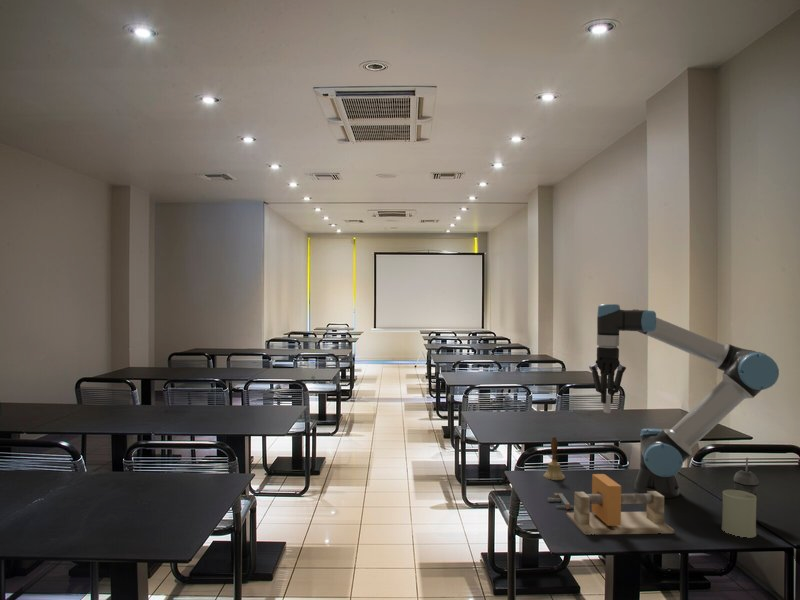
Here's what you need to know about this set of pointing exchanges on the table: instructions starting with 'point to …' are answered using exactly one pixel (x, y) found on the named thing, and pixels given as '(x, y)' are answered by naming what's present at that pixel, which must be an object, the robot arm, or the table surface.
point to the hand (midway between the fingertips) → (606, 412)
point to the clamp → (560, 498)
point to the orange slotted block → (607, 499)
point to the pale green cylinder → (739, 513)
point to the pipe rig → (629, 520)
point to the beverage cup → (746, 481)
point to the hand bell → (554, 464)
